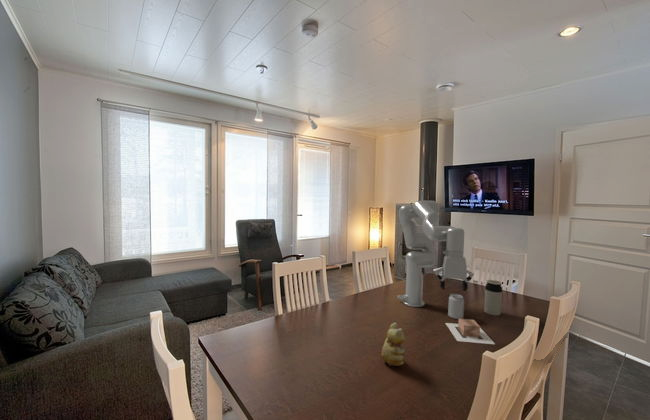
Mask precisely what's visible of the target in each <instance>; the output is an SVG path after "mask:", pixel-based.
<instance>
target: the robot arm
mask: <svg viewBox="0 0 650 420" xmlns="http://www.w3.org/2000/svg"><path fill="white" fill-rule="evenodd" d="M440 211H441V210H440V204H439V203H438V202H437V201H435V200H427V199H426V200H424V199H423V200H421V199H420V200H417V201H416V202H415V203H414V204H404V205H402V206H401V207H400V208H399V210H398V220H399V223H400V225H401V227H402V232H403V237H404V241H405V242H404V243H405V246H406V248H407V249H409V250H415V251H409V252H407V253H406V255H405V267H406V275H405V277H406V279H405V293H404V294H403V295H401V294H398V295H397V299H400V300H402V303H403V304H404V305H405V306H409V307H413V308H422V307H424V306H425V301H424V300H423V285H424V273H423V272H422V270H421V268H431V267H434V266H435V264H436V261H437V260H436V253H435V249H434V248H435V247H434V244H433V242H446V243H445V245H446V246H445V247H446V248H445V250H443V251H442V253H443V254H444V257H443V260H442V261H443V263H442V267H441V268H438V269H436V270H434V273H435V275H436V277H437V279H439V281H440V282H439V287H440V288H441V290H445V288H446V287H445V286H446V285H445V283H446V282H445V280H446V279H454V280H463V281H462V286H461V287H462V290H463V292H467V290H468V283H469V282H470V281H471V280H472V278H473V277H474V273H473V272H472V271H470V270H468V269H467V260H466V257H465V256H464V254H465V253H464V252H465V251H464V250H465V249H464V248H465V230H464V229H463V228H460V227H454V226H452V225H451V226H450V225H435V224H436V223H437V222H438V221H439V213H440ZM412 219H413V220H414V219H415V220H417V219H418V220H419V219H420V220H421V221H422V223H421V224H422V232H423V233H419V232H418V231H419V230H418V227H417V224H416V223H415V222H414V221H413V220H412ZM440 273H441V274H442V275H440ZM467 275H468V276H467Z"/></svg>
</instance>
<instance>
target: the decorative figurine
mask: <svg viewBox="0 0 650 420" xmlns="http://www.w3.org/2000/svg"><path fill="white" fill-rule="evenodd" d="M405 340H406V338H405V334H404V333H403V329H402V328H398V324H397V322H393V323H391V324H390V325H389V327H388V330H387V332H386V338H385V340H384V342H383V346H382V348H381V360H382V361H384V362H385V363H387V364H388V366H394V367H395V366H396V367H398V366H403V365H404V355H405V353H406V350H405V348H403V347H402V344H403V343H404V342H405Z"/></svg>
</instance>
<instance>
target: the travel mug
mask: <svg viewBox="0 0 650 420" xmlns="http://www.w3.org/2000/svg"><path fill="white" fill-rule="evenodd" d="M502 284H503V282H502V281H499V280H496V279H487V280H486V284H485V289H484V290H485V291H484V294H485V295H484V304H483V305H484V306H483V307H484V308H483V311H484V312H485V314H488V315H490V316H495V317H496V316H500V315H501V312H502V300H503V299H502V297H503V287H502Z"/></svg>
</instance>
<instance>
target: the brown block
mask: <svg viewBox="0 0 650 420" xmlns="http://www.w3.org/2000/svg"><path fill="white" fill-rule="evenodd" d="M457 324H458V329H459V331H460V332H461V333H462V335H463V336H473V337H479V334H480V328H481V326H480V325H479V324H478V323H477V321H476V320H475V319H471V318H469V319H468V318H462V319H458V322H457Z"/></svg>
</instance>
